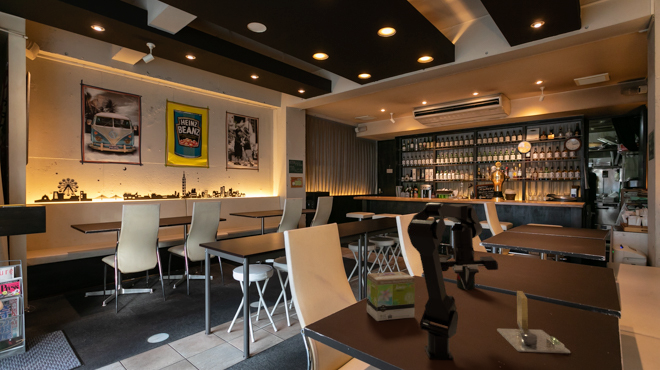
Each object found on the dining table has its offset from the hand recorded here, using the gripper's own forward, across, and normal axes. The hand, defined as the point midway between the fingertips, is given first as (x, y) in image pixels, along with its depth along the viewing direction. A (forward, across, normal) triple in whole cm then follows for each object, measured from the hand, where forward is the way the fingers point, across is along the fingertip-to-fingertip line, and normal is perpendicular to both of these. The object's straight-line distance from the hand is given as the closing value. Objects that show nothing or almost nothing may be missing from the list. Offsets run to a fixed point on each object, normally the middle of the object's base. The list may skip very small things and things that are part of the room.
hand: (466, 289), depth 105 cm
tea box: (+13, +26, -8) cm, 30 cm away
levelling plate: (+14, -16, +5) cm, 22 cm away
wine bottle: (+19, -9, -48) cm, 52 cm away
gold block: (+14, -16, +2) cm, 21 cm away
